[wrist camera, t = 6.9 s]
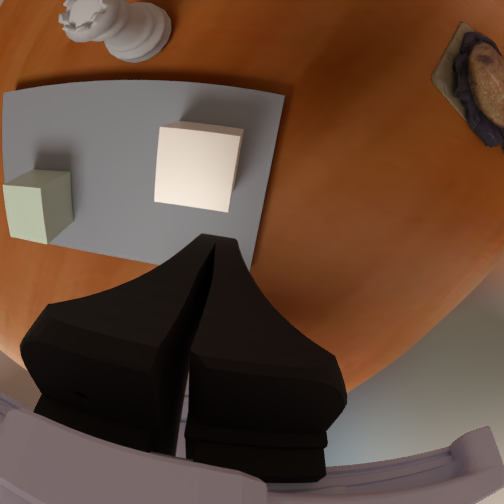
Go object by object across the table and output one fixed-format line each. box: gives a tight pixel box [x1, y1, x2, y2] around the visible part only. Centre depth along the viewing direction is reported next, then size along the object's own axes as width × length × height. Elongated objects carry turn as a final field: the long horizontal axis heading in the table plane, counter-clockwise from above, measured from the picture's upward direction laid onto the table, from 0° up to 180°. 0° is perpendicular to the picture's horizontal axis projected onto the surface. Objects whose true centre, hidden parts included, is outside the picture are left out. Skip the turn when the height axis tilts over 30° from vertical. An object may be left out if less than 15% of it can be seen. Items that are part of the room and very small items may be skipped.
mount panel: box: [2, 80, 285, 272], centre depth 18 cm, size 13×22×4 cm, turn 80°
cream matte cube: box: [154, 121, 244, 213], centre depth 16 cm, size 4×4×4 cm
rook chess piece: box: [59, 0, 171, 63], centre depth 11 cm, size 4×4×8 cm
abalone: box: [431, 22, 504, 154], centre depth 14 cm, size 11×8×4 cm
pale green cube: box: [3, 169, 73, 244], centre depth 17 cm, size 4×4×4 cm
